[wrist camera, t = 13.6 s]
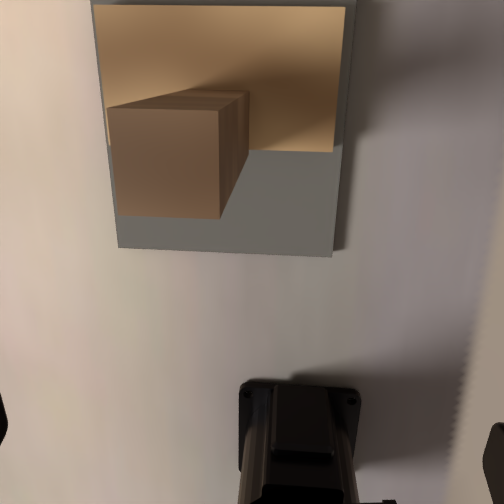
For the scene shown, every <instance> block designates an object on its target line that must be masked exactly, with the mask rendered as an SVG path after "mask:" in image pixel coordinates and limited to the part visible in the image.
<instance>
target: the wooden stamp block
mask: <svg viewBox="0 0 504 504" xmlns="http://www.w3.org/2000/svg"><path fill="white" fill-rule="evenodd" d="M93 7H94V16H95V25H96V34H97V43H98V52H99V61H100V70H101V79H102V88H103V97H104V106H105V115H106V124H107V133H108V142H109V145H110V146H111V155H112V164H113V173H114V182H115V191H116V200H117V210H118V215H120V216H145V217H169V218H193V219H218V220H220V218H221V216H222V213H223V211H224V209H225V207H226V204H227V202H228V200H229V198H230V196H231V193H232V191H233V189H234V187H235V184H236V182H237V180H238V178H239V175H240V173H241V171H242V169H243V167H244V164H245V162H246V160H247V158H248V155H249V150H277V151H310V152H333V143H334V131H335V120H336V109H337V97H338V86H339V75H340V64H341V52H342V41H343V30H344V18H345V7H302V6H190V5H93Z"/></svg>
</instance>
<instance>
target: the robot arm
mask: <svg viewBox="0 0 504 504" xmlns="http://www.w3.org/2000/svg"><path fill="white" fill-rule="evenodd" d="M245 391H251V392H252V393H246V392H245ZM349 398H354V399H353V400H349ZM360 407H361V397H360V393H359V392H358V391H357V390H355V389H348V388H333V387H317V386H301V385H286V384H270V383H255V382H245V383H243V384H242V385H241V386H240V390H239V471H240V472H241V479H240V487H239V496H238V504H397V503H396V500H382V502H381V503H360V502H359V496H358V490H357V483H356V477H355V471H354V465H353V455H354V448H355V442H356V435H357V428H358V421H359V414H360ZM7 428H8V420H7V416H6V412H5V408H4V404H3V401H2V397H1V394H0V445H1V443H2V441H3V439H4V437H5V435H6V432H7ZM483 470H484V474H485V477H486V480H487V484H488V487H489V491H490V494H491V497H492V501H493V504H504V423H501V422H498V423H495V424H494V425H493V426H492V428H491V431H490V435H489V438H488V441H487V444H486V448H485V451H484V454H483Z"/></svg>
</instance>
